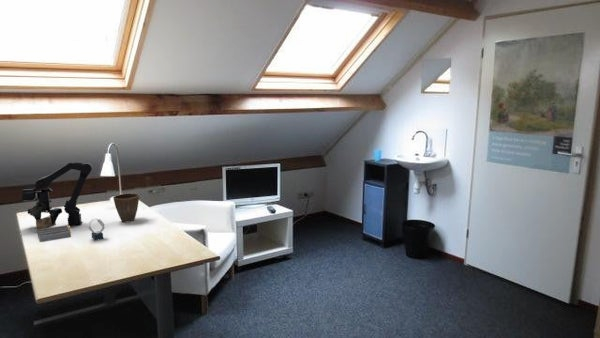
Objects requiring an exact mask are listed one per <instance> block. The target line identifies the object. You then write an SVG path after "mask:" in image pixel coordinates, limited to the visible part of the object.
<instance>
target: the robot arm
mask: <svg viewBox="0 0 600 338" xmlns="http://www.w3.org/2000/svg"><path fill="white" fill-rule="evenodd" d="M70 170H75V171H79V178H78V180H77V182H76V185H75V188H74V190H73V192H72V193H71V197H70V198H66V201H65V204H64V205H63V208H64V213H66V214H68V216H67V227H68V226H70V227H72V226H81V225H82V223H83V221H82V214H81V209H80V208H78V206H77V204H78V198H79V196H80V194H81V192H82V189H83V187H84V184H85V182H86V179H87V178H88V176H89V175H90V173H91V172H92V170H93V165H92V163H90V162H84V163H83V162H73V161H69V162H68V163H66V164H65V165H63V166H62V167H59V168H58V169H57V170H56V171H54V172H52V173H50V174H49V175H45V176H43V177H41V178H39V179H37V180H36V181H35V186H34V187H33V188H31V189H26V188H25V189H22V190H21V192H22V194H21V195H22V196H21V200H22V201H23V202H29V201H35V200H36V199H37V201H36V202H35V203H36V204H35V205H34V206H33V207H29V208H28V209H27V214H28V215H30V216H32V217H33V218H34V220H35V221H36V220H39V219H42V213H47V214H49V215H48V216H50V217H51V222H52V225H54V224H55V222H56V221H57V219H58V217H59V215H61V214H62V213H63V209H62V208H60V207H55V208H53V207H52V206H51V203H52V200H50V193H52V192H53V189H52V188H50V187H48V186H49V185H50V184H52V183H53V181H55V180H57V179H58V178H59V177H61V176H62V175H64V174H65V173H67V172H69V171H70ZM54 226H55V225H54Z"/></svg>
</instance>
